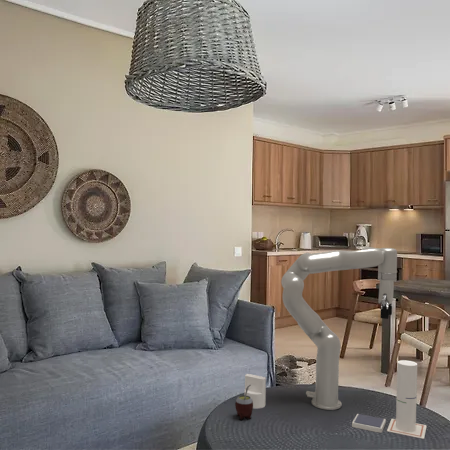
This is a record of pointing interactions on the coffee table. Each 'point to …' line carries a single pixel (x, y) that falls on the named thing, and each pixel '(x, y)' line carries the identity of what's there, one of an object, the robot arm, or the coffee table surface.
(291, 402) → the coffee table surface
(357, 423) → the ink pad
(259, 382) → the base with upright slab
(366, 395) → the coffee table surface
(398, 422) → the cylindrical container
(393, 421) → the marked paper
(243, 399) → the mate gourd
